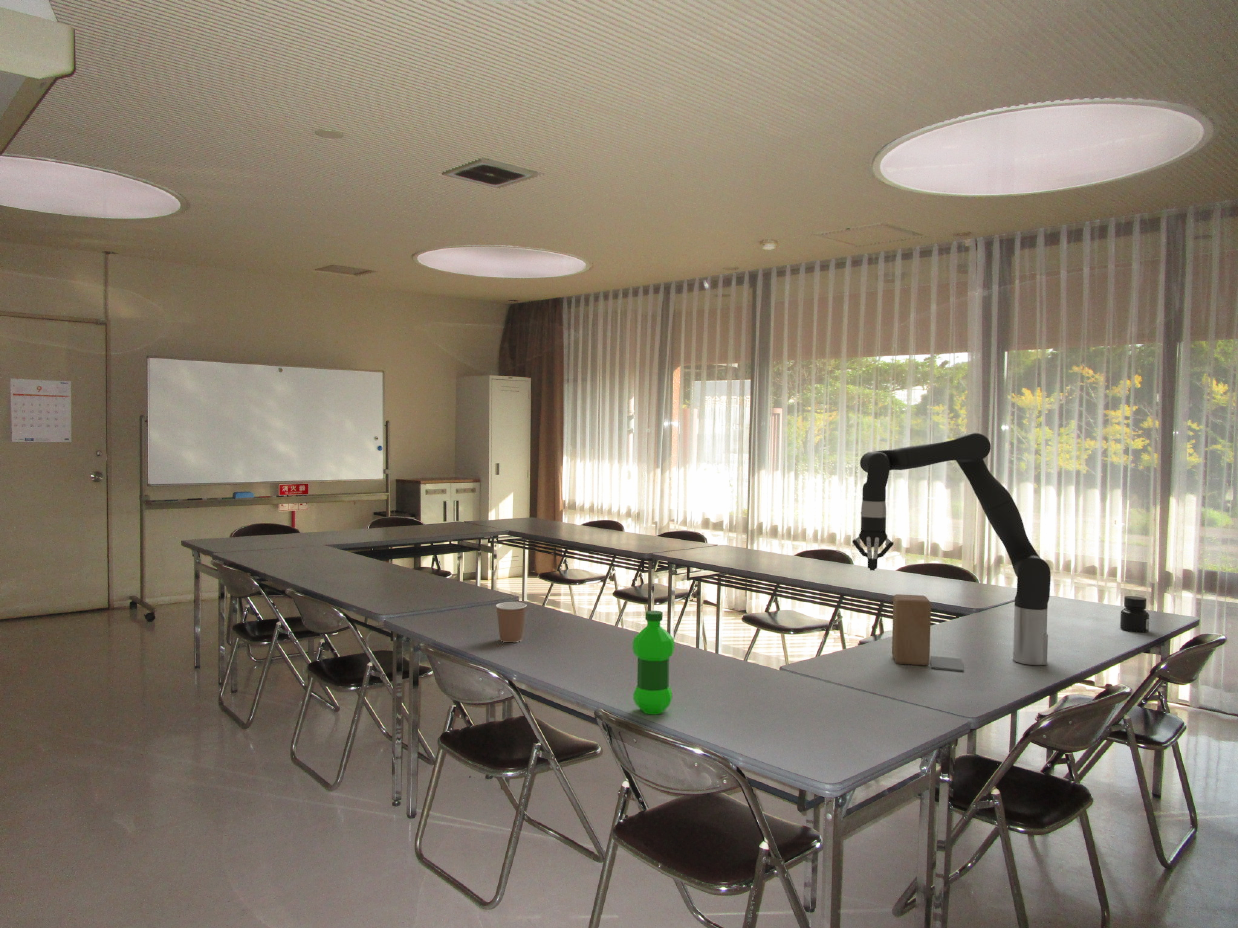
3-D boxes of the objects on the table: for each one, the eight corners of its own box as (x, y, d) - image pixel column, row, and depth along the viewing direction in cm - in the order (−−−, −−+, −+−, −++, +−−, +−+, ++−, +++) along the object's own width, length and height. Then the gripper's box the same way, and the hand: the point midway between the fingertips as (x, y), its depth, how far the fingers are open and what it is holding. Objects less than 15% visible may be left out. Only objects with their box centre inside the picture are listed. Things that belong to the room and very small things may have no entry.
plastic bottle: (676, 717, 203) (677, 616, 202) (633, 717, 202) (635, 616, 201) (670, 703, 212) (672, 608, 212) (630, 704, 212) (631, 608, 211)
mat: (961, 660, 257) (961, 658, 257) (963, 671, 245) (963, 669, 245) (930, 657, 260) (930, 655, 260) (931, 668, 248) (931, 666, 248)
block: (929, 666, 250) (931, 601, 249) (895, 664, 252) (897, 599, 251) (924, 657, 260) (926, 595, 259) (891, 655, 262) (893, 593, 261)
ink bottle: (1154, 633, 296) (1156, 600, 295) (1130, 633, 296) (1131, 600, 295) (1138, 627, 305) (1139, 595, 305) (1114, 626, 305) (1115, 594, 305)
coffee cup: (529, 637, 280) (529, 602, 279) (522, 644, 269) (523, 608, 269) (499, 636, 281) (499, 601, 280) (492, 643, 270) (492, 607, 270)
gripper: (896, 515, 259) (894, 569, 260) (852, 513, 264) (851, 566, 264) (895, 517, 252) (894, 573, 253) (850, 515, 257) (849, 570, 257)
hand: (872, 570), depth 259 cm, fingers closed
